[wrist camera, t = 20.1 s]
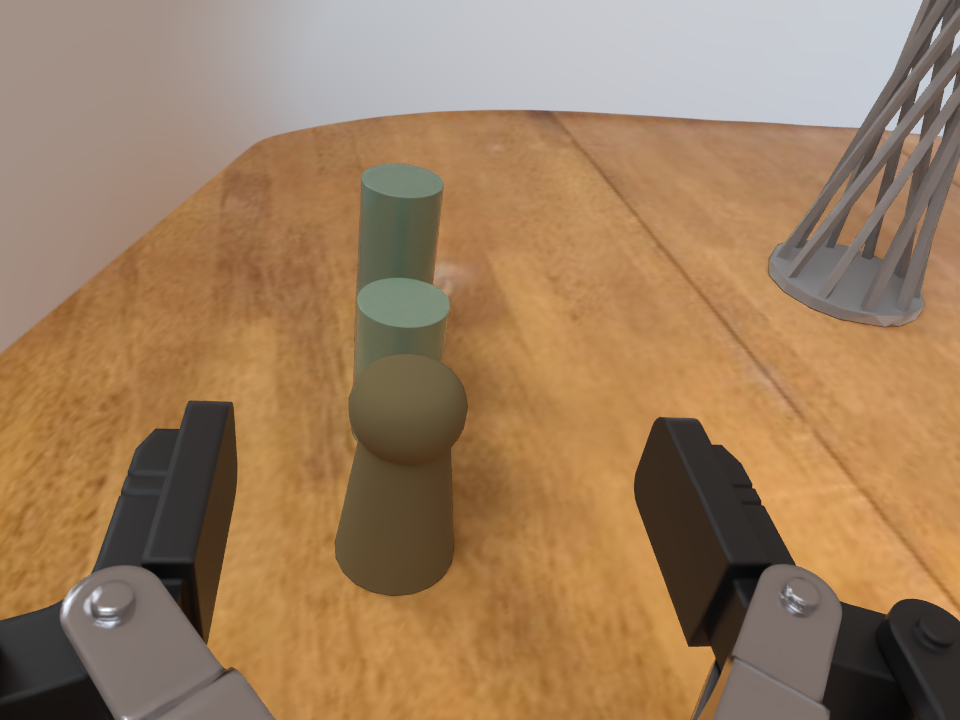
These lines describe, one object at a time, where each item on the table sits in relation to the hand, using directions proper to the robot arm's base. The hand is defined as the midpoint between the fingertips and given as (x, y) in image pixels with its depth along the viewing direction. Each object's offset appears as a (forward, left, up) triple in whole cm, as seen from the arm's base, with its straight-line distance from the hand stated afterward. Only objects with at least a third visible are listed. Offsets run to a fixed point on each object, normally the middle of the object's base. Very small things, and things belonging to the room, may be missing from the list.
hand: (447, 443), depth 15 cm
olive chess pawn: (+1, +15, -21) cm, 26 cm away
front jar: (+1, +24, -21) cm, 32 cm away
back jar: (+1, +33, -21) cm, 40 cm away
